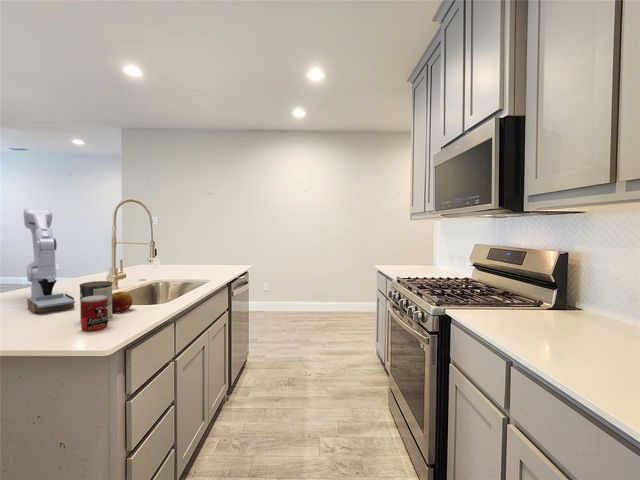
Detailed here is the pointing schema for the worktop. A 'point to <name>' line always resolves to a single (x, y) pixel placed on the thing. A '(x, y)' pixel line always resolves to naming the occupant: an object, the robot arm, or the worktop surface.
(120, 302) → the fruit
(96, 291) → the coffee can
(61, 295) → the lid
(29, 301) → the box
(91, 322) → the canned food
